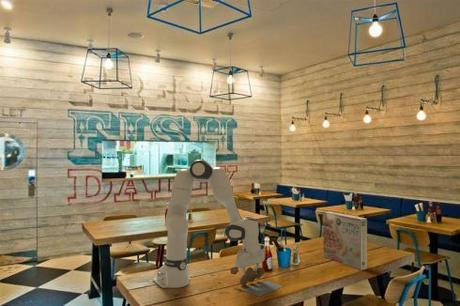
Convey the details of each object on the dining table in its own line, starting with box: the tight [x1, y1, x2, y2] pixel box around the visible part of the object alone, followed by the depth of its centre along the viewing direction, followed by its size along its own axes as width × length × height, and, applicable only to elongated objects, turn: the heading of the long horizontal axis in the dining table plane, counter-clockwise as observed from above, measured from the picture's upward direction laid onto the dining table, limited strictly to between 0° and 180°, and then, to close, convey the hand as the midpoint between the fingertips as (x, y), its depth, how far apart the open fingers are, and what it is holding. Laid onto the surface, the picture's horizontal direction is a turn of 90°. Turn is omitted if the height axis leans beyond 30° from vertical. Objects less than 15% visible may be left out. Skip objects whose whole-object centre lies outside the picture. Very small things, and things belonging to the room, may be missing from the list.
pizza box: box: [323, 211, 368, 271], centre depth 233 cm, size 32×5×32 cm, turn 28°
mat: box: [241, 280, 284, 297], centre depth 191 cm, size 12×20×1 cm, turn 135°
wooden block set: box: [229, 266, 265, 286], centre depth 197 cm, size 18×9×10 cm
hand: (250, 272), depth 197 cm, fingers open, 8 cm apart
